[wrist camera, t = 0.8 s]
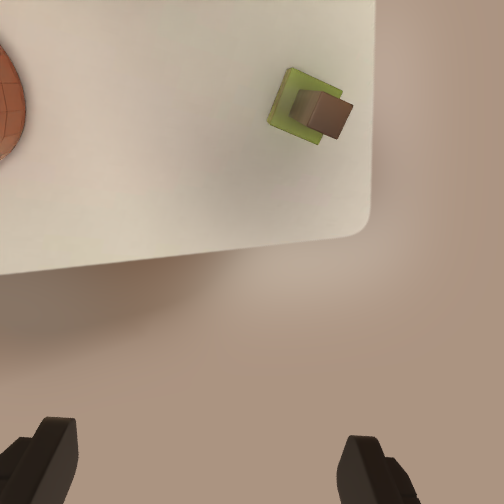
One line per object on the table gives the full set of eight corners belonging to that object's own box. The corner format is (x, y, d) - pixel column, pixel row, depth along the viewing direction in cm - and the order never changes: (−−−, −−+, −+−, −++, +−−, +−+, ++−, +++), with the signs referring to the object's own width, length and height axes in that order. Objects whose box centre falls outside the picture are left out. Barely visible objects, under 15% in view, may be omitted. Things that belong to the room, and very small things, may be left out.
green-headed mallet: (287, 68, 34) (312, 61, 23) (334, 90, 35) (380, 93, 24) (266, 121, 36) (281, 137, 25) (312, 140, 37) (345, 164, 26)
